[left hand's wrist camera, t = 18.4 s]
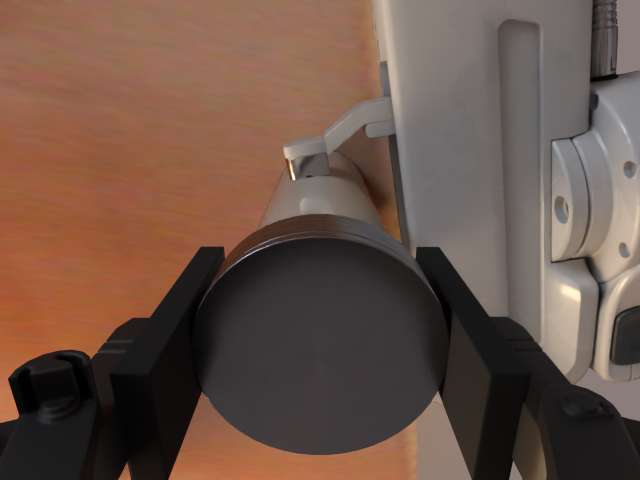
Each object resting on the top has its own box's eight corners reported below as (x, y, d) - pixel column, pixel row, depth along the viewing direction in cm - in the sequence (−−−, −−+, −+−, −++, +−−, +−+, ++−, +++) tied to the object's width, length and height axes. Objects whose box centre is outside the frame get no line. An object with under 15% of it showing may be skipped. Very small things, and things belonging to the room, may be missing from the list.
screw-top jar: (259, 177, 26) (178, 302, 11) (339, 132, 25) (367, 204, 10) (304, 250, 27) (285, 444, 13) (381, 211, 26) (455, 371, 12)
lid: (399, 422, 13) (410, 470, 12) (198, 391, 13) (180, 436, 11) (461, 237, 11) (485, 264, 10) (220, 192, 11) (203, 212, 9)
